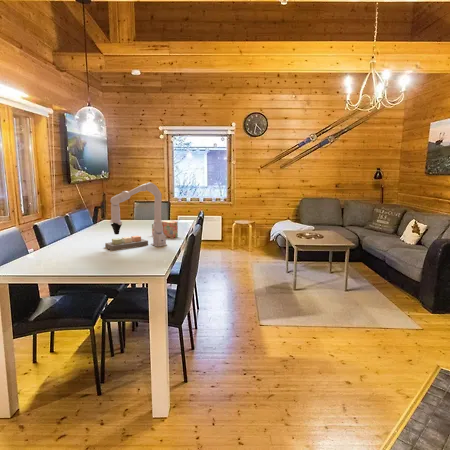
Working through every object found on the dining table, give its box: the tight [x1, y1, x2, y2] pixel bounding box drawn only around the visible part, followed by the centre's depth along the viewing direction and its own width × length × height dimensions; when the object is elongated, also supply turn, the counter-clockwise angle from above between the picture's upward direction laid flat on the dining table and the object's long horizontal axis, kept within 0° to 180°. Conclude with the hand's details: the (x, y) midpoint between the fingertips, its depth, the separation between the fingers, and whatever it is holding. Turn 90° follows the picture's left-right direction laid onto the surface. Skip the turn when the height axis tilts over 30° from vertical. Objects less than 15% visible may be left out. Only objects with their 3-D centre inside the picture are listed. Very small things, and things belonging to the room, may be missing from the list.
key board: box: [104, 238, 149, 251], centre depth 244 cm, size 12×26×3 cm, turn 129°
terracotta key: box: [130, 235, 142, 242], centre depth 248 cm, size 5×5×3 cm
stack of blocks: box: [151, 220, 179, 239], centre depth 279 cm, size 21×6×12 cm, turn 60°
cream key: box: [121, 236, 132, 243], centre depth 244 cm, size 5×5×3 cm
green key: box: [111, 237, 122, 245], centre depth 239 cm, size 5×5×3 cm
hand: (116, 234), depth 239 cm, fingers closed
